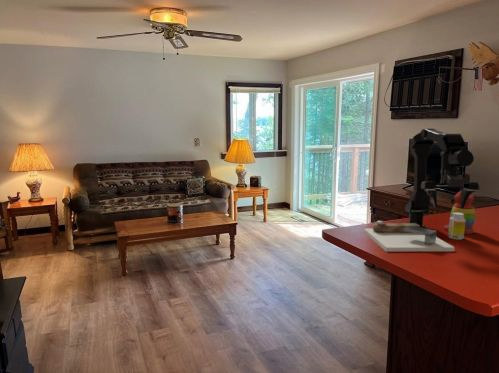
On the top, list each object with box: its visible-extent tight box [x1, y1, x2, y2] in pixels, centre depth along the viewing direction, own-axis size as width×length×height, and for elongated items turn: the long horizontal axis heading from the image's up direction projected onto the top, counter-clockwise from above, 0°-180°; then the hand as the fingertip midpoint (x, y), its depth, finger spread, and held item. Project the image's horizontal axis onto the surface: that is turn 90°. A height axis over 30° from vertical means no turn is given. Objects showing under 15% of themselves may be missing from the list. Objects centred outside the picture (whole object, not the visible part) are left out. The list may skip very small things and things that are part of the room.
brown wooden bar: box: [372, 222, 420, 232], centre depth 152 cm, size 18×5×2 cm, turn 91°
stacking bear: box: [443, 190, 477, 235], centre depth 158 cm, size 11×10×18 cm
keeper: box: [404, 225, 438, 246], centre depth 140 cm, size 10×5×5 cm, turn 41°
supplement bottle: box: [447, 212, 465, 240], centre depth 149 cm, size 6×6×10 cm
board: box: [363, 220, 455, 252], centre depth 145 cm, size 24×25×6 cm
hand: (448, 208), depth 138 cm, fingers open, 9 cm apart
